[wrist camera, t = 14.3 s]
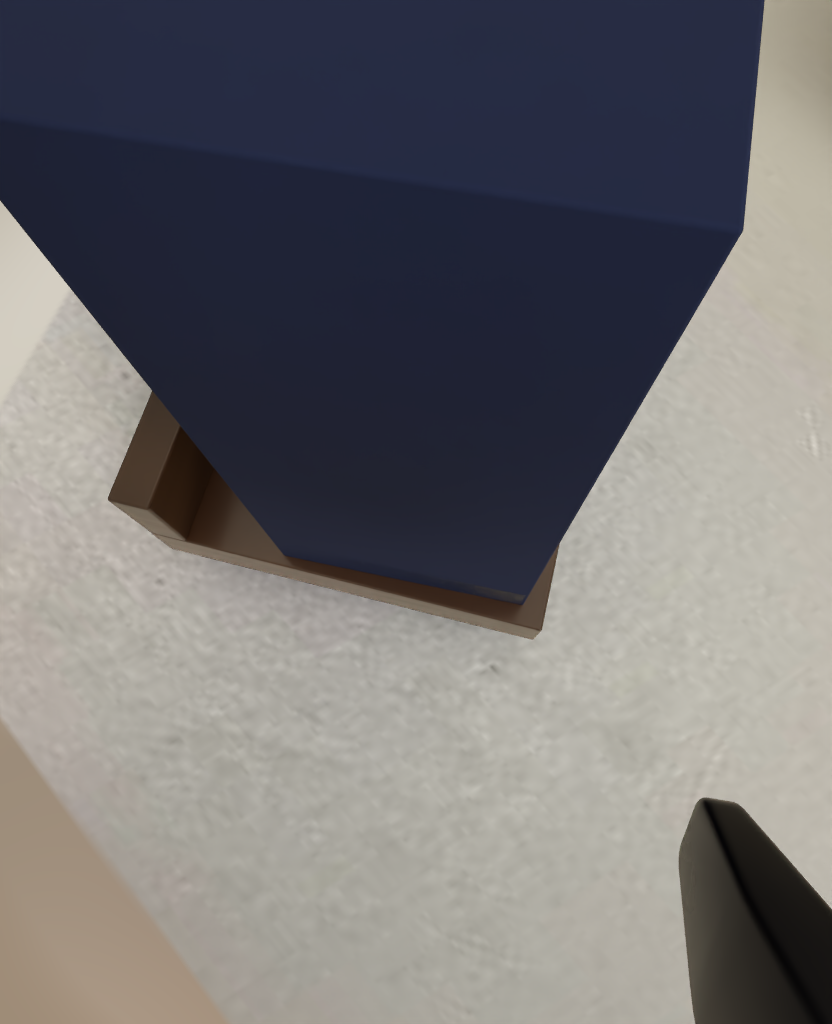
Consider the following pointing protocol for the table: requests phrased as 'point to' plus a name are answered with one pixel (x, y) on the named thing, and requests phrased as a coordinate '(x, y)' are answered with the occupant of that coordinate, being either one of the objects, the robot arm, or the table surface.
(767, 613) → the table surface
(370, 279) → the navy blue box
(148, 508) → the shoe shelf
